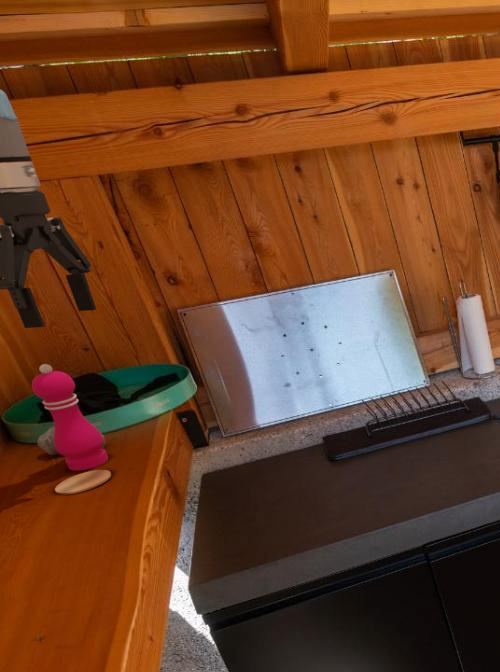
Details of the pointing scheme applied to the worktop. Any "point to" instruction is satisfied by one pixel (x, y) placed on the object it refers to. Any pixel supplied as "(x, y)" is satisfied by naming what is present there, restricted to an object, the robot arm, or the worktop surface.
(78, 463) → the pepper mill
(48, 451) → the stone
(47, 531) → the worktop surface
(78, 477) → the cork mat
